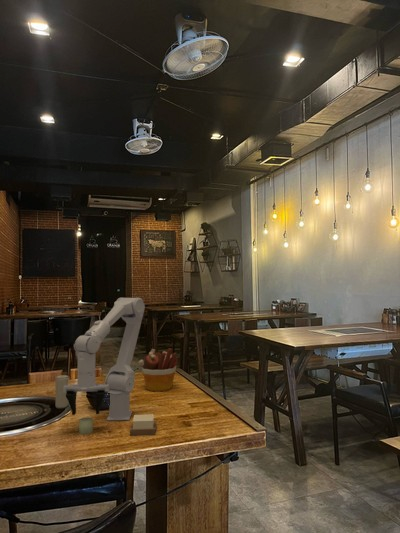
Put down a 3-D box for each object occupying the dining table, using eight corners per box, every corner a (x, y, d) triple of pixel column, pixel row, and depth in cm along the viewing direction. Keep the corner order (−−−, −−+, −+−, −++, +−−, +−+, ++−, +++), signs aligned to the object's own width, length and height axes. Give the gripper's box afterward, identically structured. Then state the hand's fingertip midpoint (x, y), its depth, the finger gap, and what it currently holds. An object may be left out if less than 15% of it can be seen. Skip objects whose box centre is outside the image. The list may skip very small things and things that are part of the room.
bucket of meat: (133, 387, 188) (133, 345, 189) (163, 382, 198) (163, 342, 199) (155, 396, 172) (155, 350, 173) (186, 390, 182) (186, 346, 183)
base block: (132, 429, 134) (132, 421, 134) (156, 428, 134) (156, 420, 134) (130, 437, 126) (130, 429, 126) (155, 437, 126) (155, 429, 126)
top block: (134, 422, 133) (134, 414, 133) (153, 421, 134) (153, 414, 134) (132, 429, 126) (132, 421, 127) (153, 428, 127) (153, 420, 127)
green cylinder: (80, 429, 132) (80, 417, 132) (94, 429, 132) (94, 417, 132) (77, 434, 128) (77, 422, 128) (91, 434, 128) (91, 421, 128)
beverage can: (69, 404, 160) (69, 375, 161) (65, 408, 155) (66, 377, 156) (57, 405, 160) (57, 375, 161) (53, 408, 155) (53, 377, 156)
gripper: (60, 374, 127) (59, 418, 126) (106, 374, 127) (106, 417, 127) (66, 370, 134) (66, 411, 133) (110, 369, 134) (109, 410, 134)
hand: (85, 413), depth 130 cm, fingers open, 7 cm apart
